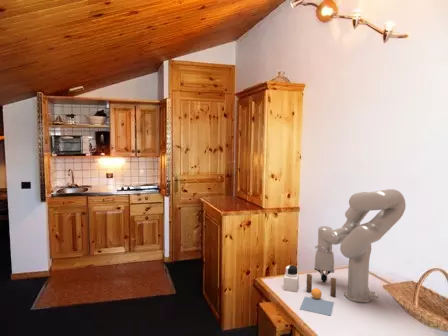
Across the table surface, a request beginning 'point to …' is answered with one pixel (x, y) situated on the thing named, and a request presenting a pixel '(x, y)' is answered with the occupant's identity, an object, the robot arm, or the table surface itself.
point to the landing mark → (317, 306)
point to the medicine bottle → (291, 279)
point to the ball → (316, 293)
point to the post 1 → (309, 283)
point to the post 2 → (333, 287)
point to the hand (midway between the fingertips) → (324, 281)
